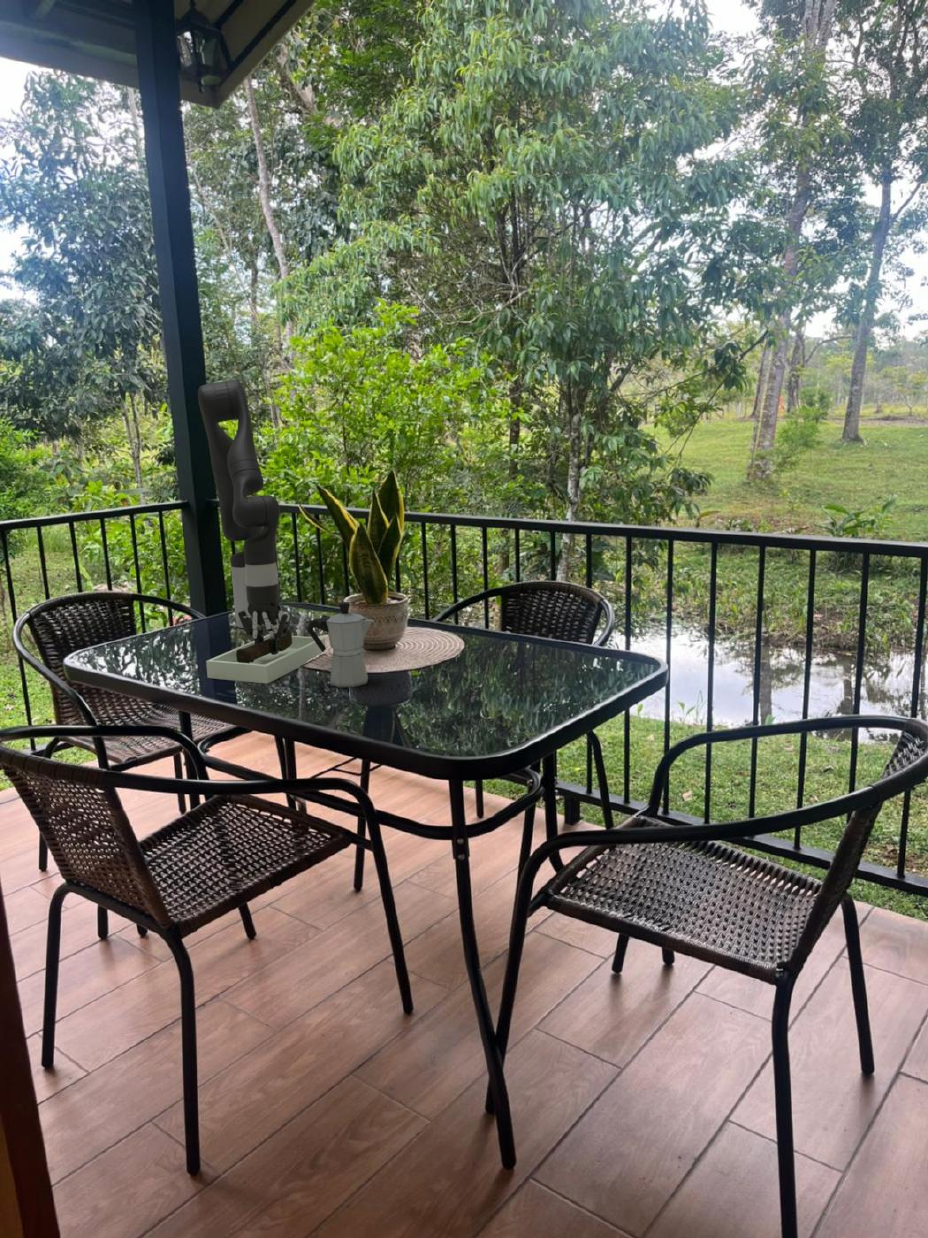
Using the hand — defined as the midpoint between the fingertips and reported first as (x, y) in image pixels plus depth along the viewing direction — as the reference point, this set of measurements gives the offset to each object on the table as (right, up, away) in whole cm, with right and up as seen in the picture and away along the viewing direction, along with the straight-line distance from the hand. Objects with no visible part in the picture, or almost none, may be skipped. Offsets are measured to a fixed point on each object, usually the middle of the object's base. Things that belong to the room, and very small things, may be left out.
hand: (267, 653), depth 220 cm
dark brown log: (0, -1, 0) cm, 1 cm away
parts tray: (0, -3, +1) cm, 3 cm away
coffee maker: (+20, -6, -14) cm, 25 cm away
